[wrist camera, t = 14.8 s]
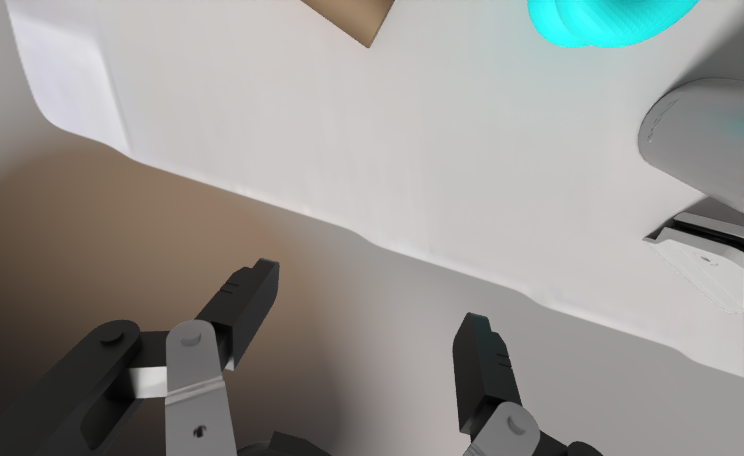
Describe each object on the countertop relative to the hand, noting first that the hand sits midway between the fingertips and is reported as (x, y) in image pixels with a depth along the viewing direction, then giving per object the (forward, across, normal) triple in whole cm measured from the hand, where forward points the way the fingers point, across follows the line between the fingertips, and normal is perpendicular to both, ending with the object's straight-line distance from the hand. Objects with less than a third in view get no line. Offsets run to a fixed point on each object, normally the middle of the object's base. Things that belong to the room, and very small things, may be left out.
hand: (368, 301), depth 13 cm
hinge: (+28, -40, +5) cm, 50 cm away
